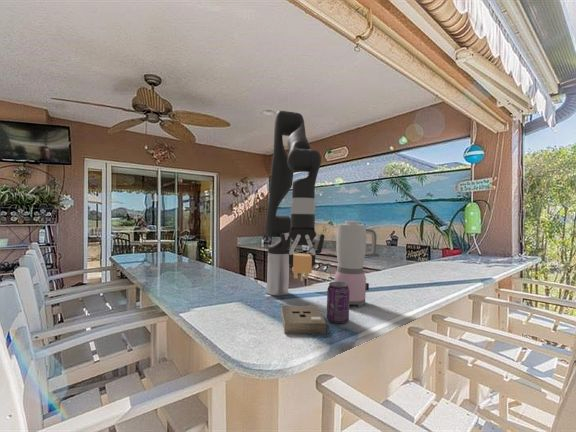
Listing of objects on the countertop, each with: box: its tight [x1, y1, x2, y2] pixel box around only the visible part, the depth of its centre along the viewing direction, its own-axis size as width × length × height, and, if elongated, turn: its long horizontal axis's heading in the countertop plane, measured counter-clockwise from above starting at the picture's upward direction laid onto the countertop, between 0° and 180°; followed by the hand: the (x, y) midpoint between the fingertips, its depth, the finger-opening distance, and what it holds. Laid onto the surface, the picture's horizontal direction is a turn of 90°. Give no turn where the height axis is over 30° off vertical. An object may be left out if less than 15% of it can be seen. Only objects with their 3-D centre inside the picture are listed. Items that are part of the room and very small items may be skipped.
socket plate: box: [280, 305, 327, 335], centre depth 94 cm, size 16×12×4 cm
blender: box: [333, 220, 377, 308], centre depth 117 cm, size 16×12×32 cm
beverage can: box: [326, 281, 350, 324], centre depth 97 cm, size 7×7×12 cm
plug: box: [291, 253, 313, 282], centre depth 94 cm, size 6×6×8 cm
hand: (301, 266), depth 94 cm, fingers closed on plug, 5 cm apart
